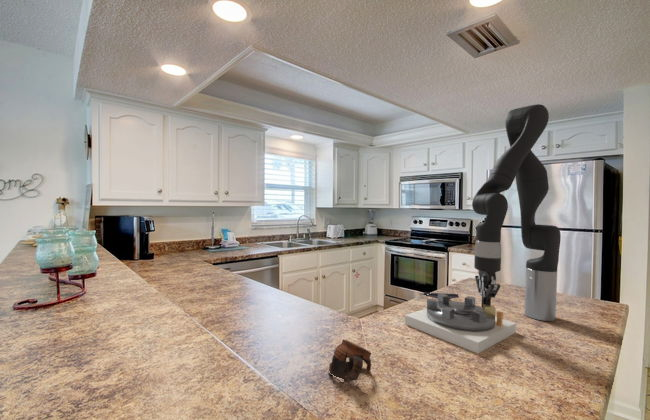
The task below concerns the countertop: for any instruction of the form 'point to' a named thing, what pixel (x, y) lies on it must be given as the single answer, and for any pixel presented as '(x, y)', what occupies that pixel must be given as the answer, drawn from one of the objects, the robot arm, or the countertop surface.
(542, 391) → the countertop surface
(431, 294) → the bracket
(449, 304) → the shallow round grey dish
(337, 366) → the pottery mug
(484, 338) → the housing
